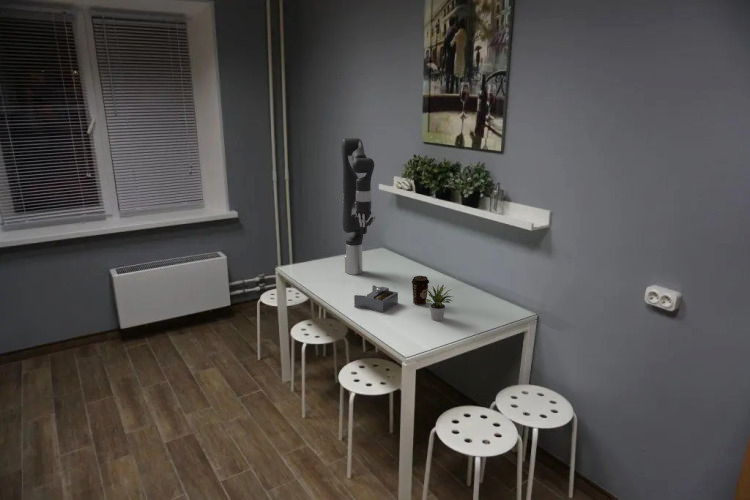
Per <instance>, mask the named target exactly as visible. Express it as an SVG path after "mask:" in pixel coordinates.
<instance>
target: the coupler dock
mask: <svg viewBox="0 0 750 500" xmlns="http://www.w3.org/2000/svg"><path fill="white" fill-rule="evenodd" d="M371 287H372V290H371V292H370V293H368V294H366V295H361V294H360V295H358V294H356V295H354V296H353V297H354V298H353V299H354V303H353V304H354V308H364V309H368V310H372V311H375V312H380V313H385V312H387V311H388V310H389V309H392V307H395V306H396V305H397V304H399V301H398V300H399V292H397V291H393V290H390V289H389V287H385V286H376V285H375V284H373V285H371ZM382 294H385V295H389V296H388V297H387V298H385V299H383V300H380V299H376V298H377V297H378V296H380V295H382Z"/></svg>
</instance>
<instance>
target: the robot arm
mask: <svg viewBox="0 0 750 500" xmlns="http://www.w3.org/2000/svg"><path fill="white" fill-rule="evenodd" d="M364 148H365V147H364V144H363V141H362V139H361V138H358V137H356V138H354V137H353V138H343V139H341V158H342V193H343V194H342V195H343V197H342V198H343V207H342V208H343V209H342V228H343V231H344V232H345V233H348V234H350V233H352V234H350V236H348V237H347V238H346V239H345V252H346V253H345V256H344V272H345V273H346V274H348V275H353V276H354V275H360V274H362V273H363V241H364V235H366V234H367V233H368V232H367V231H368V226H371V225H372V224H373V222H374V221H375V219H376V216H374V215H373V214H372V189H371V188H372V187H371V185H372V184H371V183H372V177H373V173H374V170H375V161H374V160H373V158H371V157H370V158H369V157H367V155H366V154H365V149H364ZM349 157H351V160H352V164H351V163H350V159H349ZM358 174H365V176H362V177H359V175H358ZM354 205H355V209H356V210H355V213H352V212H353V208H354Z"/></svg>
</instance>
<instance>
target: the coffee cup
mask: <svg viewBox="0 0 750 500" xmlns="http://www.w3.org/2000/svg"><path fill="white" fill-rule="evenodd" d="M411 284H412V303H413V304H414V305H416V306H423V305H426V304H427V301H426V299H428V292H427V290H428V289H429V284H430V280H429V279H428V276H425V275H416V276H413V277H412V279H411ZM426 289H427V290H426ZM423 290H425V291H423ZM428 291H429V290H428Z"/></svg>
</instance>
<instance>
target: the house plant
mask: <svg viewBox="0 0 750 500" xmlns="http://www.w3.org/2000/svg"><path fill="white" fill-rule="evenodd" d="M439 285H440V284H438V283H437V287H436V288H435V287H434V286H433V285H432V288H433V289H432V288H431V287H430V288H428V290H427V289H426V290H427V296H429V297H430V298H431V299H432V300H431V299H429V298H426V303H430V304H429V310H430V311H429V312H430V316H431V320H432V321H434V322H441V321H443V319H444V315H445V310H446V305H445V303H446V304H447V303H448V304H450V305H451V302H453V300H452V299H450V298H453V296H452V295H450V293H448V292H450V291H452V290H453V289H448V290H447V291H445V292H444V293H443V291H444V290H445V289H446V288H447V286H446V287H445V285H444V283H443V284H442V285H441V286H439ZM430 289H431V290H432V291H433V292H432V291H431V290H430ZM423 291H425V290H423ZM433 293H434V295H433ZM442 293H443V294H442Z"/></svg>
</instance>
